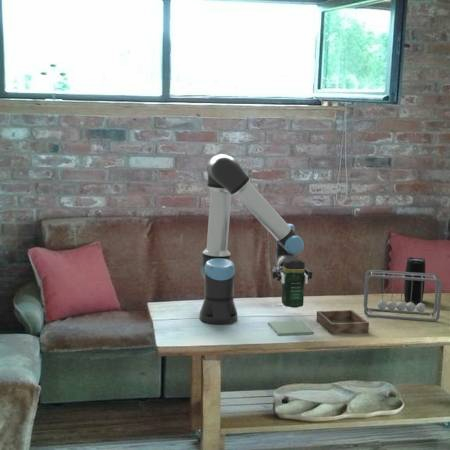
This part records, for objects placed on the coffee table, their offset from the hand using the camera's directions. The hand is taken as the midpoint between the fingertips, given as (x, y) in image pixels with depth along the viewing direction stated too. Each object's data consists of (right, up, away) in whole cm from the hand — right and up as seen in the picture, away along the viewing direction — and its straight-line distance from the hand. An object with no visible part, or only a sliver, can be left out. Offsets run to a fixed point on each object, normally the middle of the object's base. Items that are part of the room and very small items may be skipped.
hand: (295, 280), depth 259 cm
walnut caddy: (+20, -19, +12) cm, 30 cm away
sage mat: (-1, -19, +8) cm, 21 cm away
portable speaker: (+58, -14, +52) cm, 79 cm away
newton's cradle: (+47, -17, +29) cm, 58 cm away
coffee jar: (0, -10, +7) cm, 12 cm away
